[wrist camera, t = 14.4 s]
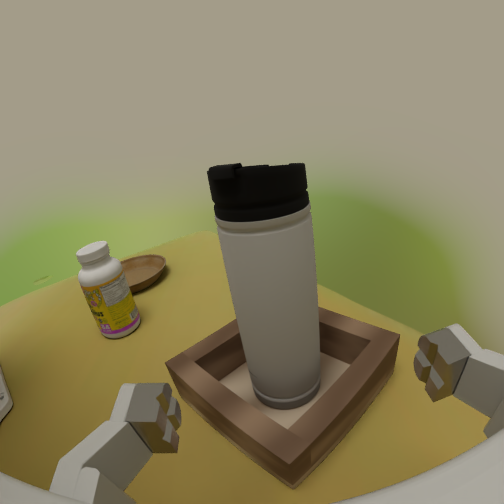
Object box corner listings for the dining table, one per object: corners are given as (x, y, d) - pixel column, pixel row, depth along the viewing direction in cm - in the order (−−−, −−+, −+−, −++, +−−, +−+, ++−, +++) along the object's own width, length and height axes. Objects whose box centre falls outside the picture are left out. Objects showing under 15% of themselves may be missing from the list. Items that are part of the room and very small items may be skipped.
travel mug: (237, 397, 25) (180, 171, 18) (276, 355, 30) (244, 153, 22) (297, 422, 22) (265, 163, 14) (331, 371, 26) (319, 147, 19)
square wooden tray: (181, 397, 27) (164, 362, 25) (281, 326, 36) (277, 291, 34) (293, 489, 16) (289, 464, 15) (393, 372, 25) (400, 334, 23)
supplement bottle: (96, 328, 41) (65, 252, 36) (131, 309, 45) (105, 235, 40) (110, 346, 36) (74, 261, 31) (149, 325, 40) (120, 241, 36)
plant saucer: (89, 306, 48) (84, 294, 47) (112, 272, 62) (109, 261, 61) (162, 295, 49) (158, 281, 48) (174, 260, 63) (171, 249, 62)
